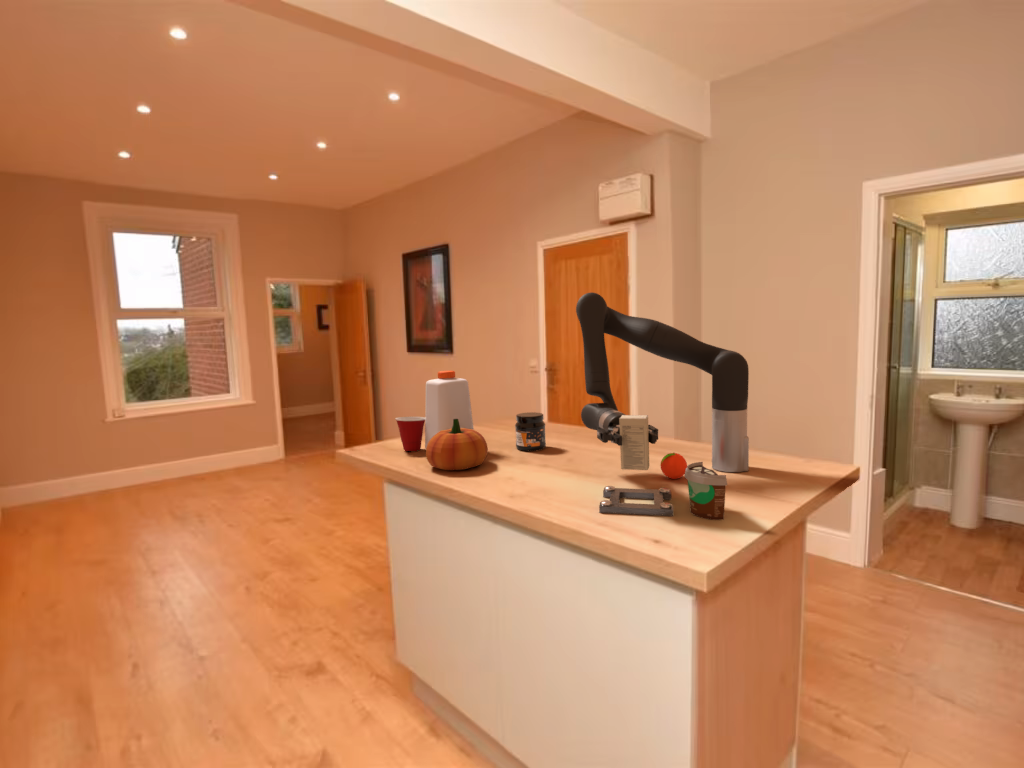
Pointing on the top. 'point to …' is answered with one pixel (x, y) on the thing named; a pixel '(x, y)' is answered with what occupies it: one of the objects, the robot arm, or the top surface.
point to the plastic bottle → (446, 404)
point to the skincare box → (634, 442)
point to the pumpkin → (456, 448)
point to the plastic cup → (411, 432)
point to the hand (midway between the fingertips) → (637, 440)
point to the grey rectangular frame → (637, 509)
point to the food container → (706, 491)
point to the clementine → (673, 465)
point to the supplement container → (530, 431)
